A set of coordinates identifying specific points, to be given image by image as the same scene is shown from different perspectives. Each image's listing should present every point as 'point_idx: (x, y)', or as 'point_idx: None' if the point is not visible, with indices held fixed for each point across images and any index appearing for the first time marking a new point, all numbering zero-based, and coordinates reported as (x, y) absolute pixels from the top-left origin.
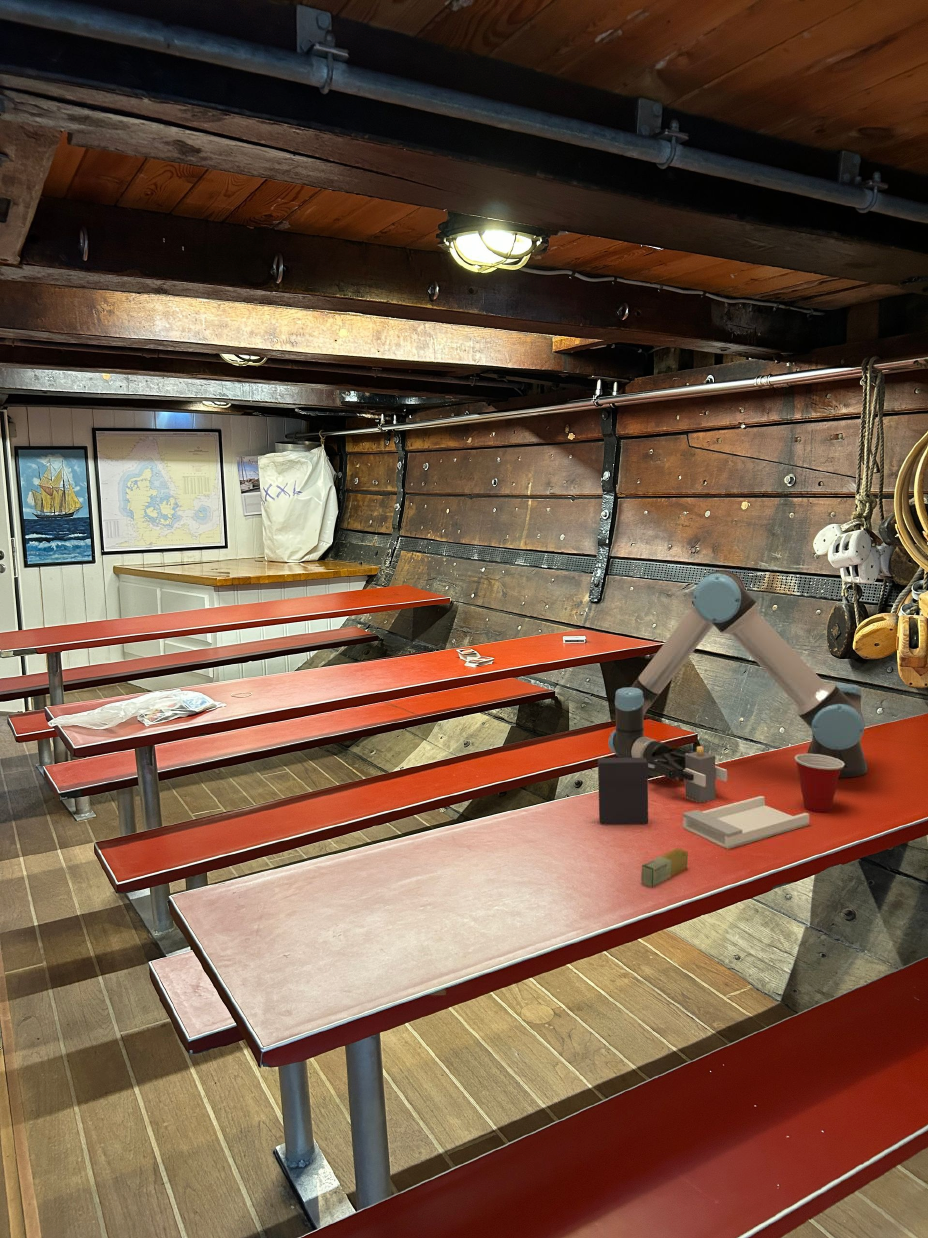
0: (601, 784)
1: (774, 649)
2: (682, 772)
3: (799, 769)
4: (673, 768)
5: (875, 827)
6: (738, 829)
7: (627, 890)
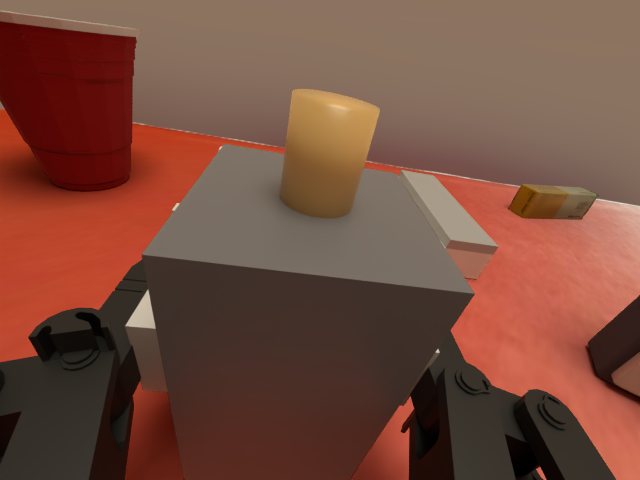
0: None
1: None
2: (460, 354)
3: (106, 64)
4: (552, 442)
5: (149, 131)
6: (406, 172)
7: (600, 219)
